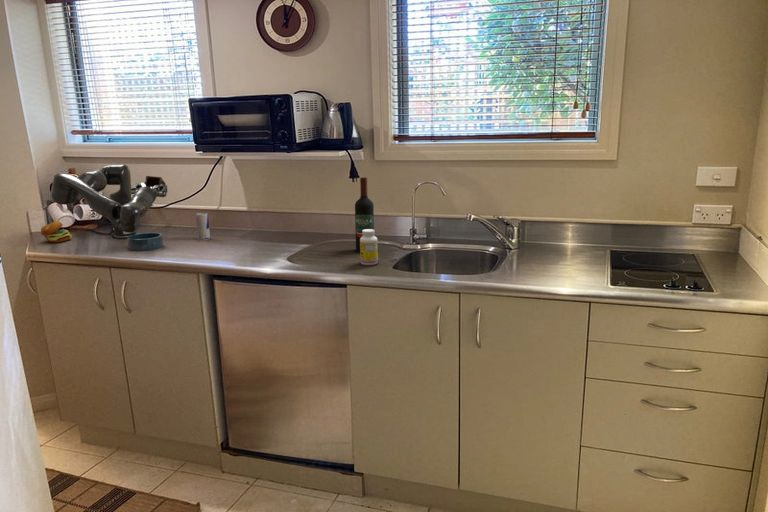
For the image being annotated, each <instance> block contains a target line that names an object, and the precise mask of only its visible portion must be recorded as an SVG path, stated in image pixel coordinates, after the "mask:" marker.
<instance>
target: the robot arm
mask: <svg viewBox="0 0 768 512" xmlns="http://www.w3.org/2000/svg"><path fill="white" fill-rule="evenodd" d="M131 177H132V176H131V170H130V168H129V166H128V165H126V164H107V165H104V166H102V167H101V168H98V169H93V170H88V171H85V172H83V173H81V174H80V175H78V177H77V176H75V175H72V174H69V173H63V172H62V173H57V174H55V175H54V176H53V179H52V183H51V190H50V198H51V200H52V201H53V202H54V203H55V204H58V205H64V206H66V205H67V206H68V205H73V204H75V203H77V202H80V201H81V200H83V199H84V201H85V202H86V204H87V205H88V207H89V208H90V209H91V210H92V211H93V212H94V213H95V214H98V215H99V216H102V217H104V218H105V219H108V220H109V221H110V222H111V226H110V232H108V233H107V232H106V233H105V232H101V231H97V230H96V229H93V228H87V227H72V228H71V230H83V231H84V230H85V231H86V230H87V231H92V232H94V233H96V234H100V235H103V236H105V235H106V236H107V235H112V234H113V237H114V238H116V239H127V237H128V236H130V235H134V234H137V232H138V231H139V229H140V226H141V218H142V217H143V216H145V215H146V213H147V212H148V211H149V209H150V208H151V207H152V206H153V204H154V203H155V201H156V200H157V198H158V197H157V196H159V195H163V197H162V198H166V197H167V194H168V185H167V184H166V181H165V180H163V181H162V182H161V184H160V185H156V186H153V187H146V185H145V181H146V179H145V180H143V181H142V182H141V183H139V182H136V183H135V184H133V186H132V178H131ZM165 184H166V185H165ZM107 186H119V189H118V190H117V191H114V192H112V193H110V194H109V197H107V196H105V195H104V194H102V193H100V192H102V191H103V190H105V189H106V188H107Z"/></svg>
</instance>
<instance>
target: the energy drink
mask: <svg viewBox="0 0 768 512" xmlns="http://www.w3.org/2000/svg"><path fill="white" fill-rule="evenodd" d="M195 224H196V234H197V235H196V236H197V240H198V241H207V240H210V239H211V233H210V232H211V231H210V220H209V214H208V212H197V213H195Z"/></svg>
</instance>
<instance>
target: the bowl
mask: <svg viewBox="0 0 768 512" xmlns="http://www.w3.org/2000/svg"><path fill="white" fill-rule="evenodd" d="M126 239H127V248H128V250H129V251H132V252H147V251H154V250H158V249H161V248H163V247H164V240H163V234H162V233H160V232H139V233H136V234H134V235H130V236H128V237H127V238H126Z"/></svg>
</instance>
